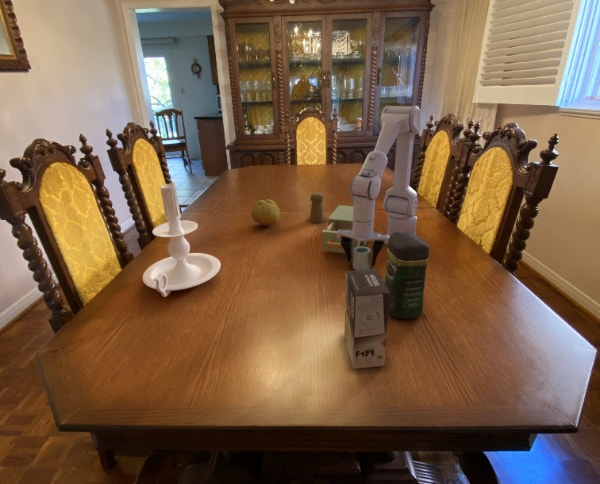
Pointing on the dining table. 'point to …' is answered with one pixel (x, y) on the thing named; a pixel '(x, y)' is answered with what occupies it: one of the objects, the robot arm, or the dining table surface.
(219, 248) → the dining table surface
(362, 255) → the jar
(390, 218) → the robot arm
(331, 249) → the drawer
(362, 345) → the coffee box
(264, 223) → the fruit
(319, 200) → the cork
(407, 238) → the coffee jar
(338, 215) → the cabinet
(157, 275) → the candlestick
